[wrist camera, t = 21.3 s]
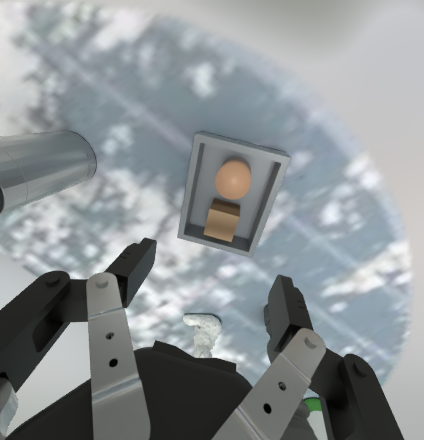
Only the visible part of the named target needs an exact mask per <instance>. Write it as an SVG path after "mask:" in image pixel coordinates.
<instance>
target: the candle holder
mask: <svg viewBox="0 0 424 440" xmlns="http://www.w3.org/2000/svg"><path fill="white" fill-rule="evenodd" d="M264 319H265V326H266V330H267V332H268V334H269V335H270V340H269V342H268V345H267V354H268V357H269V360H270V363H271V364H272V363H273V362H274V360H275V359H276V358H277V356H278V355H279V354H280V353H278V352H275V351H273V343H272V333H271V324H270V315H269V305H266V306H265V308H264ZM309 416H310V409H309V407H308V406H307V404H306V403H305V402H304V401H303V398H302V400H301V402H300V404H299V405H298V407H297V409H296V411H295V413H294V415H293V416H292V418H291V420H290V422H289V424H288V426H287V428H286V429H285V431H284V433H283V435H282V437H281V439H282V440H318V439H317V437H316V435H315V434H314V430H313V429H312V427H311V426H310V424H309V422H308V420H307V418H308V417H309Z"/></svg>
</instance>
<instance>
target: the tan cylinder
mask: <svg viewBox="0 0 424 440" xmlns="http://www.w3.org/2000/svg"><path fill="white" fill-rule="evenodd" d="M250 183H251V167H250V165H249V163H248V162H247V160H245V159H244V158H242V157H239V156H234V157H230V158H228V159H227V160H226V161H225V162H224V163H223V165H222V167H221V168H220V170H219V171H218V173H217V175H216V178H215V186H216V189H217V191H218V193H219V194H220V195H221V196H223V197H224V198H227V199H232V200H233V199H239V198H241V197H243V196H244V195H245V194H246V193H247V192H248V190H249V188H250Z"/></svg>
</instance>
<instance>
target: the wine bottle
mask: <svg viewBox="0 0 424 440" xmlns="http://www.w3.org/2000/svg"><path fill="white" fill-rule="evenodd" d="M304 402H305V403H306V404H307V406H308V407H309V409H310V416H309V417H308V418H307V420H308V422H309V424H310V426H311V427H312V429H313V430H314V434H315V435H316V437H317V439H318V440H328V439H327V434H326V429H325V424H324V419H323V414H322V409H321V404H320V399H317V398H310V399H307V400H305V401H304Z"/></svg>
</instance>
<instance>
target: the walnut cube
mask: <svg viewBox="0 0 424 440" xmlns="http://www.w3.org/2000/svg"><path fill="white" fill-rule="evenodd" d="M239 217H240V205H238V204H234V203H230V202H227V201H223V200H219V199H216V198H214V199H213V202H212V204H211V207H210V209H209V213H208V217H207V221H206V226H205V230H204V235H207V236H211V237H215V238H218V239H222V240H225V241H229V242H232V239H233V236H234V232H235V229H236V226H237V223H238V220H239Z"/></svg>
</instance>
